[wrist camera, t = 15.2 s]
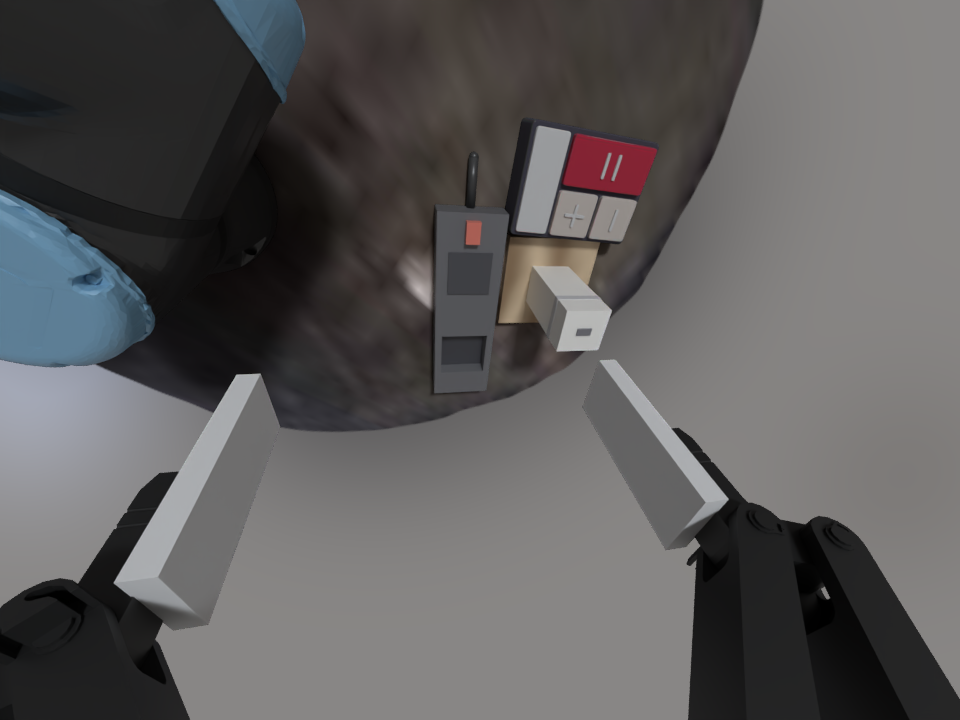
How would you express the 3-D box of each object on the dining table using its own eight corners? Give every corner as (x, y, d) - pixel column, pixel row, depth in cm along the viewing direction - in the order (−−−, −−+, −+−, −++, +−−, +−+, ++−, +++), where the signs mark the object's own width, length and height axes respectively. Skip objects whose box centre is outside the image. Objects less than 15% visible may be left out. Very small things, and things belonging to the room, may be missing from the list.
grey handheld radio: (482, 378, 56) (487, 393, 53) (432, 380, 55) (434, 396, 52) (509, 153, 38) (518, 158, 35) (435, 147, 36) (438, 152, 33)
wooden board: (496, 318, 50) (498, 323, 49) (507, 234, 43) (510, 237, 42) (574, 317, 52) (577, 321, 51) (596, 237, 45) (600, 240, 44)
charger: (525, 301, 48) (556, 352, 38) (532, 265, 45) (567, 311, 35) (560, 301, 49) (599, 351, 39) (569, 266, 46) (613, 311, 36)
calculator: (624, 246, 43) (511, 236, 39) (607, 235, 47) (501, 225, 42) (665, 144, 37) (536, 119, 33) (641, 140, 40) (521, 116, 36)
